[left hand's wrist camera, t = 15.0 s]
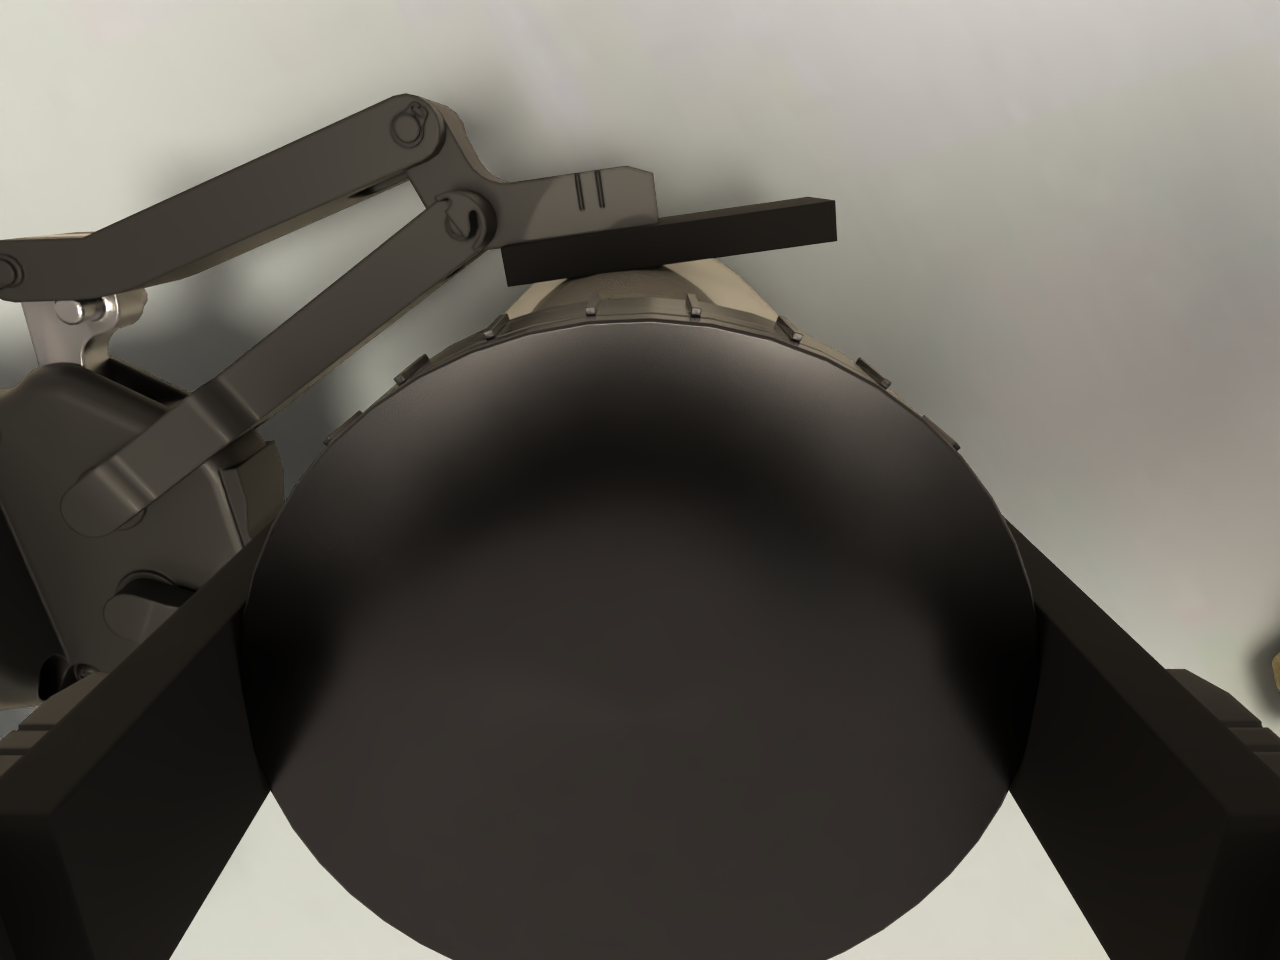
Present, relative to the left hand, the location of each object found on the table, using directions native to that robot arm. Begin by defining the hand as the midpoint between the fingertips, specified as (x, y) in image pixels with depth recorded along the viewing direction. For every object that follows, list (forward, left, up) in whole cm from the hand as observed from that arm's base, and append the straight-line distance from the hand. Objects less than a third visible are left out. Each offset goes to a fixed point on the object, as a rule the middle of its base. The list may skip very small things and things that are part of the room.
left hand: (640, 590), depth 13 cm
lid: (0, 0, +3) cm, 3 cm away
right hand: (-4, -2, -6) cm, 7 cm away
